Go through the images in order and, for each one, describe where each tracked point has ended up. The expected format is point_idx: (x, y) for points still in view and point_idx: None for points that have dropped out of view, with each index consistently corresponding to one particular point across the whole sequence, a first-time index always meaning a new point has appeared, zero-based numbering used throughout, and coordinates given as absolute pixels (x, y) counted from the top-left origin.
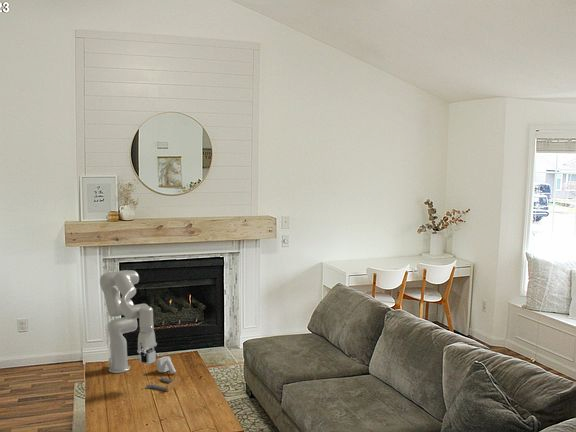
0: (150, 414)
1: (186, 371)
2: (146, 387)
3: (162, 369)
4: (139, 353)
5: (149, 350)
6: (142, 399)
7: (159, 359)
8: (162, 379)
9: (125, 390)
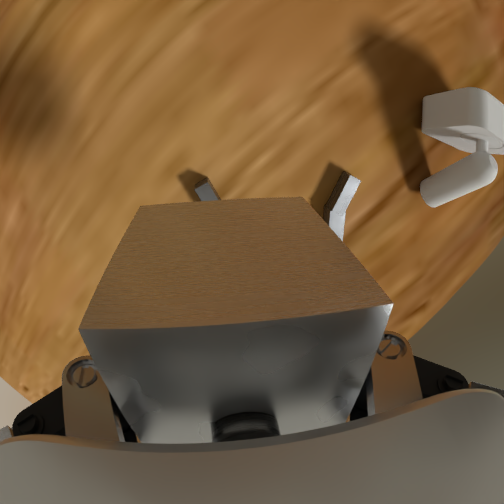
0: (51, 372)
1: (459, 223)
2: (195, 185)
3: (433, 130)
4: (22, 424)
5: (300, 425)
6: (83, 276)
7: (483, 113)
8: (334, 200)
9: (98, 97)
